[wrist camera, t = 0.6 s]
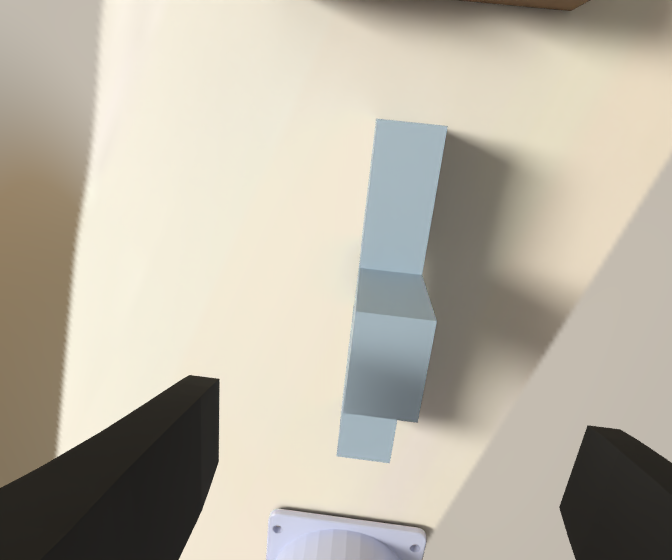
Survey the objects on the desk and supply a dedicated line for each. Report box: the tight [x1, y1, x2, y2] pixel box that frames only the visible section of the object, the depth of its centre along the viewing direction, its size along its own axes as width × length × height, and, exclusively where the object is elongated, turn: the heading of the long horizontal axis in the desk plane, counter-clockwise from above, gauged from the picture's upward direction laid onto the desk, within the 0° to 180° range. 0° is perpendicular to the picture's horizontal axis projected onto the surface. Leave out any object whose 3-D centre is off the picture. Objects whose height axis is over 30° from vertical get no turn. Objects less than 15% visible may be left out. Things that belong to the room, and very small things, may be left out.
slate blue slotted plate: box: [337, 119, 448, 463], centre depth 15 cm, size 12×2×8 cm, turn 174°
